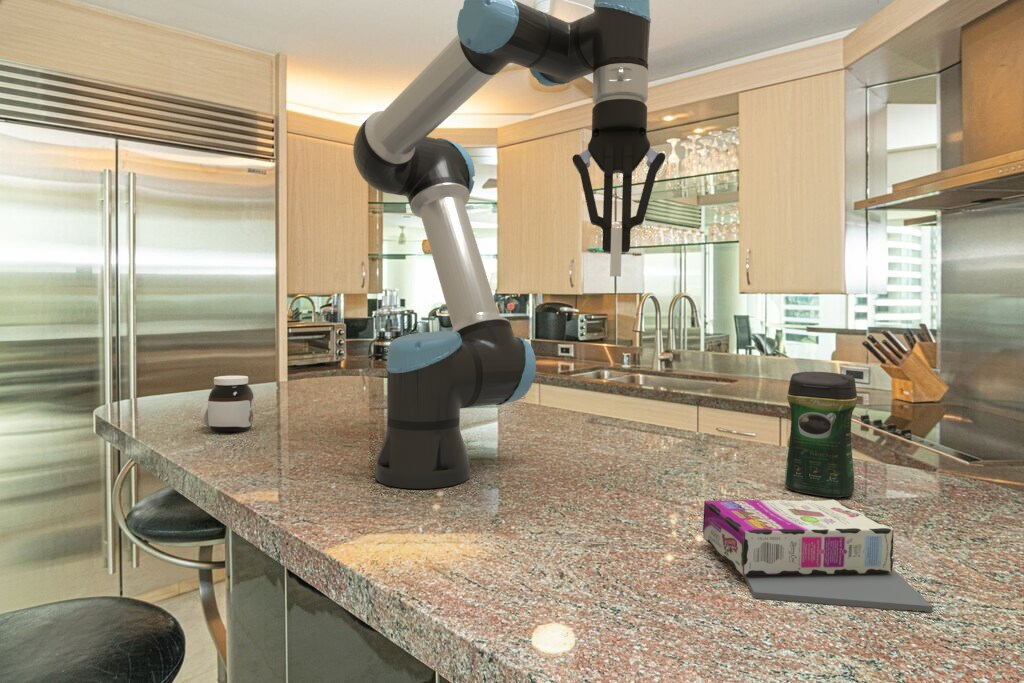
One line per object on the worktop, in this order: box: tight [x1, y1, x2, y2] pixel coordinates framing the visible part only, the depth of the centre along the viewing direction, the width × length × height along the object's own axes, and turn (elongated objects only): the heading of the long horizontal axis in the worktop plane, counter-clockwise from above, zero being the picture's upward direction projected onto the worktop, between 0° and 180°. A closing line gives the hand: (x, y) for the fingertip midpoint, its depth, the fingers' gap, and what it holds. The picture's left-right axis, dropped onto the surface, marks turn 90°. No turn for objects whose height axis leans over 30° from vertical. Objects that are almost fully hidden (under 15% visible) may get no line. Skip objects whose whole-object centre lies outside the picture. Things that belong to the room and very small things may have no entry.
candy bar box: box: [702, 499, 895, 576], centre depth 72 cm, size 11×5×16 cm
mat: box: [742, 568, 934, 613], centre depth 70 cm, size 16×16×1 cm
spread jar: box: [199, 375, 255, 435], centre depth 141 cm, size 12×11×12 cm
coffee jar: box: [784, 371, 858, 498], centre depth 100 cm, size 10×8×19 cm
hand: (615, 275), depth 91 cm, fingers closed
